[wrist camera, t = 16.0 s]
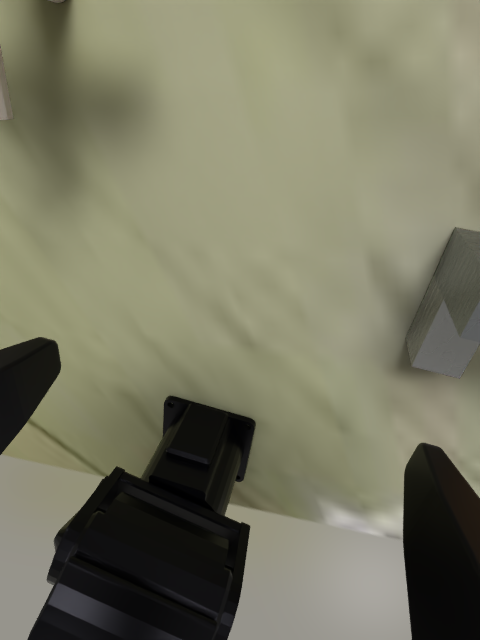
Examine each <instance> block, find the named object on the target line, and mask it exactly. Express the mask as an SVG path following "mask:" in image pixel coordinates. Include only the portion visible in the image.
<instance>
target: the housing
mask: <svg viewBox="0 0 480 640" xmlns="http://www.w3.org/2000/svg"><path fill="white" fill-rule="evenodd" d="M406 342H407V347H408V351H409V356H410V361H411V366H412V367H416V368H420V369H424V370H428V371H432V372H436V373H440V374H444V375H448V376H452V377H456V378H459V379H460V377H461V375H462V374H463V372H464V370H465V369H466V367H467V365H468V363H469V362H470V360H471V358H472V357H473V355H474V353H475V351H476V350H477V348H478V346H479V344H480V232H476V231H471V230H466V229H461V228H456V227H455V229H454V231H453V233H452V236H451V238H450V240H449V242H448V245H447V247H446V249H445V251H444V254H443V256H442V258H441V260H440V263H439V265H438V267H437V269H436V272H435V274H434V276H433V278H432V281H431V283H430V285H429V287H428V289H427V292H426V294H425V296H424V298H423V301H422V303H421V305H420V307H419V310H418V312H417V314H416V316H415V319H414V321H413V323H412V325H411V328H410V330H409V332H408V334H407V337H406Z"/></svg>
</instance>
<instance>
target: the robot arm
mask: <svg viewBox="0 0 480 640" xmlns="http://www.w3.org/2000/svg"><path fill="white" fill-rule="evenodd" d="M60 370H61V362H60V355H59V349H58V344H57V343H56V341H54V340H51V339H47V338H44V337H38V338H35V339H32V340H29V341H26V342H22V343H19V344H16V345H13V346H10V347H7V348H4V349H1V350H0V455H1V454H2V452H3V451H4V450H5V449H6V447H7V446H8V445H9V444H10V443H11V441H12V440H13V439H14V438H15V436H16V435H17V434H18V433H19V432H20V430H21V429H22V428H23V426H24V425H25V424H26V423H27V421H28V420H29V418H30V417H31V416H32V414H33V413H34V411H35V410H36V408H37V406H38V405H39V403H40V402H41V400H42V399H43V397H44V396H45V394H46V393H47V391H48V390H49V388H50V387H51V385H52V384H53V382H54V381H55V379H56V378H57V376H58V375H59V373H60ZM172 403H173V404H172ZM248 425H249V426H248ZM255 426H256V423H255V421H254V420H253V419H251V418H248V417H244V416H241V415H237V414H234V413H230V412H227V411H223V410H220V409H216V408H213V407H209V406H206V405H202V404H199V403H195V402H192V401H188V400H185V399H181V398H178V397H174V396H168V397H167V398H166V400H165V402H164V422H163V439H162V440H161V442H160V444H159V446H158V448H157V450H156V451H155V453H154V455H153V457H152V459H151V460H150V462H149V464H148V466H147V468H146V470H145V471H144V473H143V475H142V477H141V479H140V478H138V477H136V476H134V475H131V474H129V473H127V472H125V470H124V469H122V468H120V467H117V466H116V468H115V469H114V470H113V472H112V473H111V474H110V475H109V477H108V476H106V477H105V478H104V479H102V481H101V482H100V484H99V486H98V487H97V489H96V490H95V491H94V493H93V494H92V495H91V497H90V498H89V499H88V500H87V502H86V503H85V504H84V506H83V507H82V508H81V509H80V510H79V511H78V513H76V514H75V515H74V516H73V517H72V518H71V519H70V520H69V521H68V522H67V523H66V524H65V525H64V526H63V527H62V528H61V529H60V530H59V532H58V533H57V535H56V537H55V539H54V546H55V551H56V553H55V555H54V558H53V561H52V565H51V567H50V569H49V573H48V576H47V582H48V583H50V584H52V585H54V586H53V588H52V590H51V592H50V594H49V596H48V599H47V600H46V603H45V605H44V606H43V608H42V610H41V612H40V614H39V616H38V618H37V620H36V622H35V624H34V626H33V628H32V630H31V632H30V634H29V637H28V640H227V638H228V636H229V633H230V630H231V627H232V624H233V621H234V618H235V614H236V611H237V607H238V603H239V598H240V594H241V588H242V582H243V575H244V568H245V560H246V552H247V546H248V539H249V531H250V526H249V525H248V524H245V523H243V522H242V523H239V522H237V521H234V520H232V519H230V518H228V517H225V512H226V509H227V505H228V503H229V499H230V496H231V493H232V489H233V486H234V483H235V481H237V482H241V481H243V479H244V476H245V472H246V467H247V462H248V458H249V453H250V449H251V444H252V440H253V435H254V430H255ZM403 547H404V559H405V570H406V581H407V591H408V601H409V613H410V622H411V633H412V640H480V498H479V497H478V495H477V494H476V493H475V491H474V490H473V489H472V488H471V486H470V485H469V484H468V482H467V481H466V480H465V478H464V477H463V476H462V475H461V473H460V472H459V471H458V469H457V468H456V467H455V465H454V464H453V463H452V461H451V460H450V459H449V458H448V456H447V455H446V454H445V452H444V451H443V450H442V449H441V448H440V447H438V446H434V445H430V444H427V443H420V444H419V445H418V446H417V448H416V449H415V451H414V453H413V455H412V456H411V458H410V460H409V462H408V463H407V465H406V468H405V473H404V514H403Z"/></svg>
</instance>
